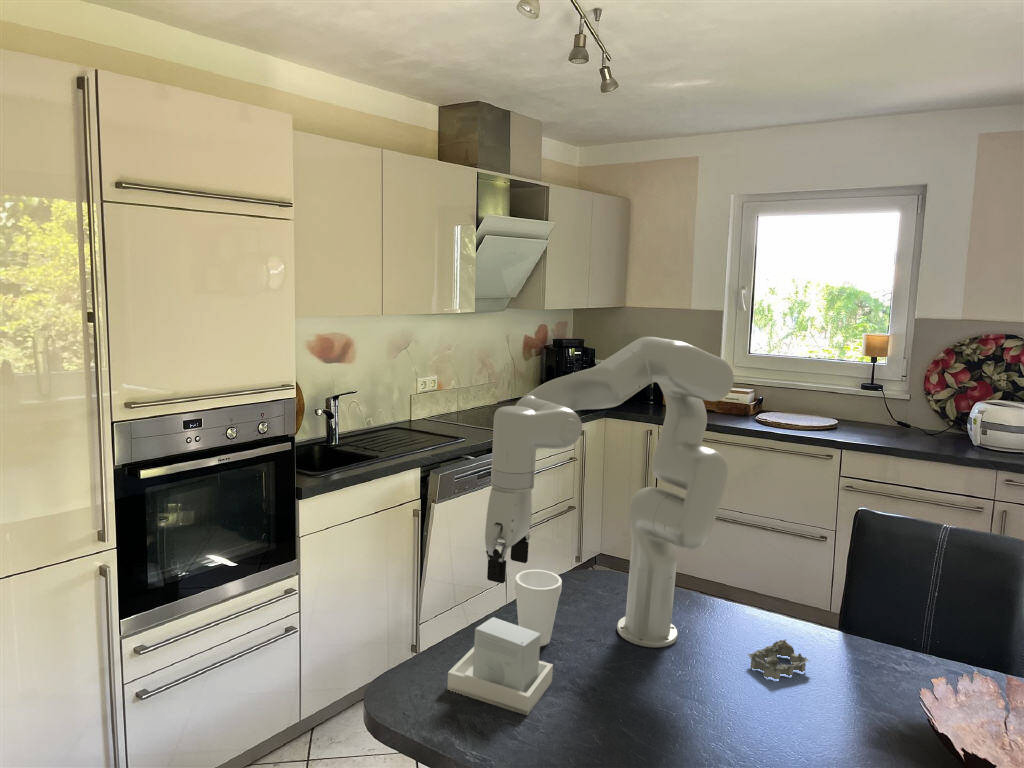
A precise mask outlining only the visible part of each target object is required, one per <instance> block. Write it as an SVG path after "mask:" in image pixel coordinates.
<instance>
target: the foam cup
mask: <svg viewBox="0 0 1024 768" xmlns="http://www.w3.org/2000/svg"><path fill="white" fill-rule="evenodd" d="M562 585H563V580H562V578H561V577H560V575H558V574H556V573H555V572H552V571H549V570H544V569H528V570H522V571H520V572H519V573H517V574H516V576H515V579H514V590H515V597H516V599H515V600H516V610H517V622H518V623H517V624H518V625H517V626H520V627H523V628H526V629H529V630H532V631H535V632H538V633H541V637H540V647H544V646H547V645H549V643H550V642H551V637H552V633H553V632H552V631H553V627H554V623H555V618H556V615H557V614H556V613H557V608H558V604H559V599H560V596H561V593H562Z"/></svg>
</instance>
